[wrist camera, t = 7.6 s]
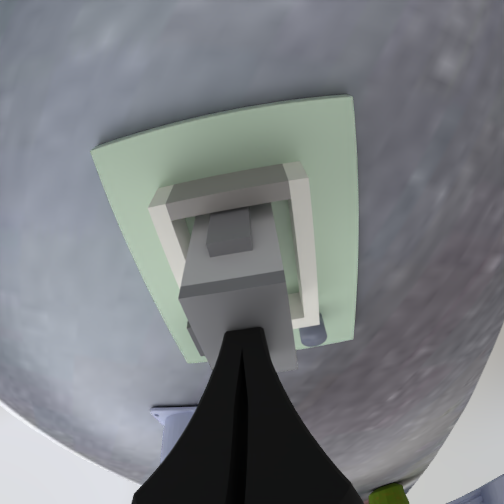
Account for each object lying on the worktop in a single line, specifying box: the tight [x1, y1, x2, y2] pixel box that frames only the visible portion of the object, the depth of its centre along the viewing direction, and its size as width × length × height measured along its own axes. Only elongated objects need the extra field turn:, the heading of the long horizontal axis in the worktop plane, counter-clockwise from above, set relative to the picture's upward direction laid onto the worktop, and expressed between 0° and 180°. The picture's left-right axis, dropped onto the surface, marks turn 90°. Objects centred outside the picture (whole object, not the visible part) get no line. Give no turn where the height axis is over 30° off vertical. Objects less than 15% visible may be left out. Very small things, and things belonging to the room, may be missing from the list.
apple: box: [369, 483, 409, 504], centre depth 64 cm, size 12×12×11 cm
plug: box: [178, 202, 298, 373], centre depth 14 cm, size 6×4×6 cm, turn 10°
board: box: [90, 94, 359, 363], centre depth 17 cm, size 16×12×3 cm
